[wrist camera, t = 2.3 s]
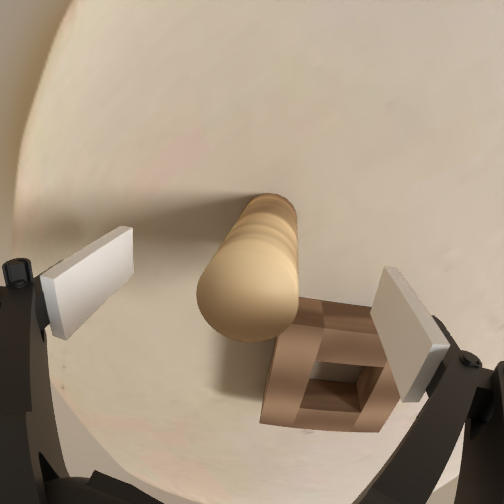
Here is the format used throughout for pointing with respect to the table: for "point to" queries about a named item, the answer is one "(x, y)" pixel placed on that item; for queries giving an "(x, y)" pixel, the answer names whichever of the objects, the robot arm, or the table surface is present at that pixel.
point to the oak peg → (254, 273)
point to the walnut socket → (328, 392)
